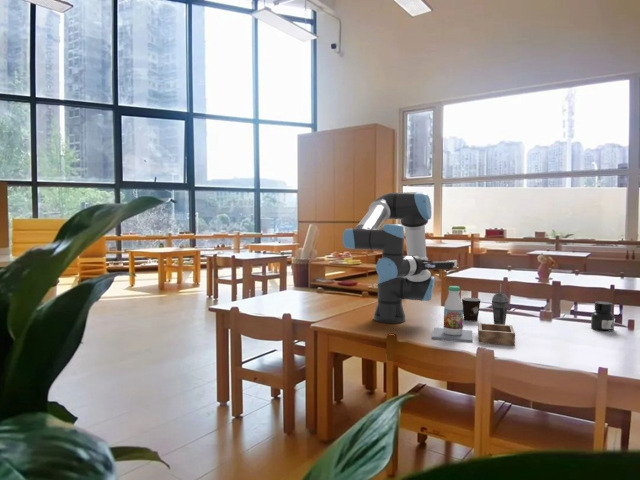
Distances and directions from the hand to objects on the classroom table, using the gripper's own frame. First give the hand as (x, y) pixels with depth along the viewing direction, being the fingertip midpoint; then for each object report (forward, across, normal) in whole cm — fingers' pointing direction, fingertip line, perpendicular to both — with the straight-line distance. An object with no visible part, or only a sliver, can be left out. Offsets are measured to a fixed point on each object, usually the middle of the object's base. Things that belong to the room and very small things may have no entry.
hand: (441, 261), depth 190 cm
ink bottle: (+71, +38, -32) cm, 87 cm away
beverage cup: (+40, +5, -32) cm, 52 cm away
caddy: (+17, +15, -32) cm, 39 cm away
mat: (+10, 0, -32) cm, 33 cm away
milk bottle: (+10, 0, -31) cm, 33 cm away
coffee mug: (+42, -12, -32) cm, 54 cm away
